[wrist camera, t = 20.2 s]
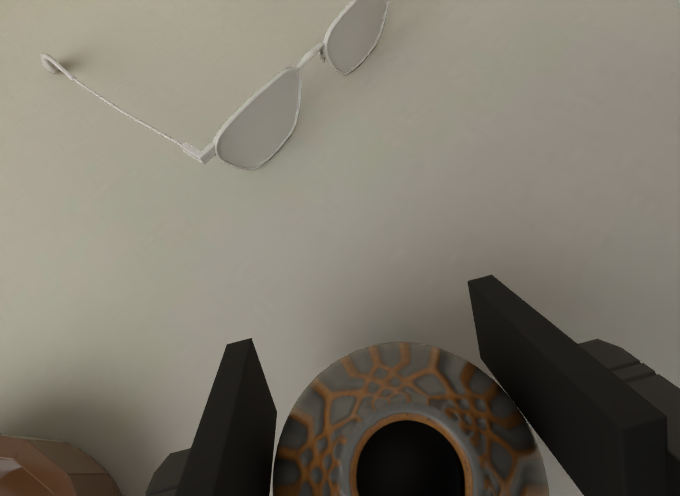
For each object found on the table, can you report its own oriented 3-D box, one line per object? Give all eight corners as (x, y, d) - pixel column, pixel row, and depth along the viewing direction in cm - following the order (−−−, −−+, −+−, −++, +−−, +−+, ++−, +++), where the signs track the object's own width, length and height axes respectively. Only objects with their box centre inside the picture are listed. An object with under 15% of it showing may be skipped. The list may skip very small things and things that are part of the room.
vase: (542, 576, 13) (754, 727, 5) (321, 624, 13) (215, 840, 5) (467, 354, 16) (532, 249, 9) (290, 393, 16) (198, 324, 9)
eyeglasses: (230, 205, 21) (197, 153, 18) (35, 78, 28) (-17, 21, 24) (402, 24, 26) (403, -46, 23) (200, -49, 33) (177, -112, 29)
